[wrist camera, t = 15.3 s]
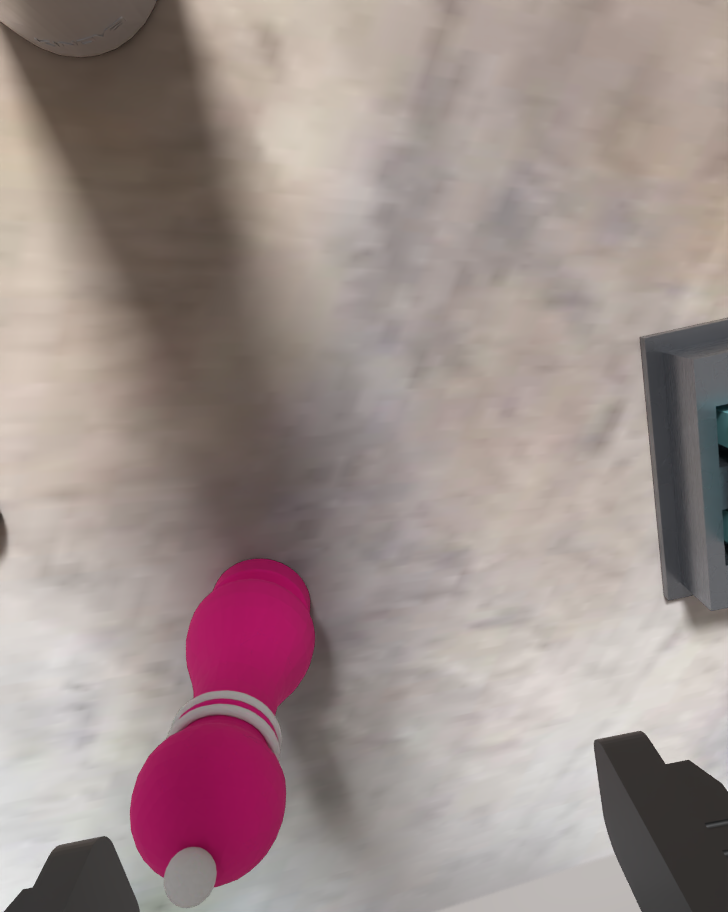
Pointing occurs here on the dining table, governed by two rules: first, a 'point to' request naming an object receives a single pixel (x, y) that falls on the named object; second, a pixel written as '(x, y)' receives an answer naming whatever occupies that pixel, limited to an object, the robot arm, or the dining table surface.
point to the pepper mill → (226, 735)
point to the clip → (724, 415)
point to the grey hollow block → (689, 457)
